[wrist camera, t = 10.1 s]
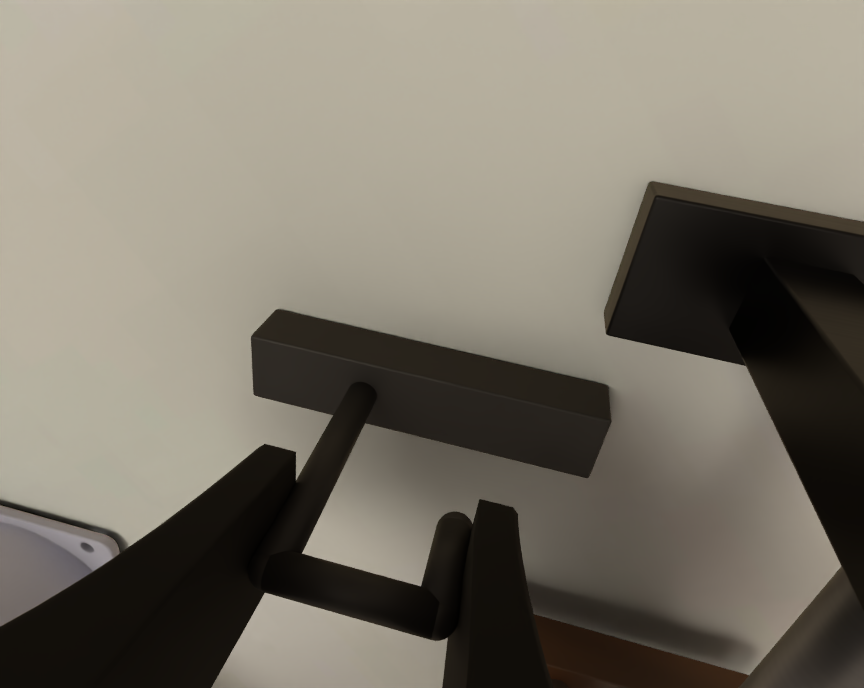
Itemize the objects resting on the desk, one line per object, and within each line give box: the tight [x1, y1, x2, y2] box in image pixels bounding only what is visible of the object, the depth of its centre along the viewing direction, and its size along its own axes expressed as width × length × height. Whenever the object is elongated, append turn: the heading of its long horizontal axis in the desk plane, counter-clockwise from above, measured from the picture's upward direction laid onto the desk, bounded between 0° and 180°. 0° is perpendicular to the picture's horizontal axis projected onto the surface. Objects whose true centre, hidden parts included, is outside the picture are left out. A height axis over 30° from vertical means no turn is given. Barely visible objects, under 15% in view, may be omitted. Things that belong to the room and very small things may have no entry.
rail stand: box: [604, 182, 864, 688], centre depth 13 cm, size 6×19×8 cm, turn 172°
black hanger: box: [248, 310, 611, 641], centre depth 12 cm, size 8×2×7 cm, turn 82°
